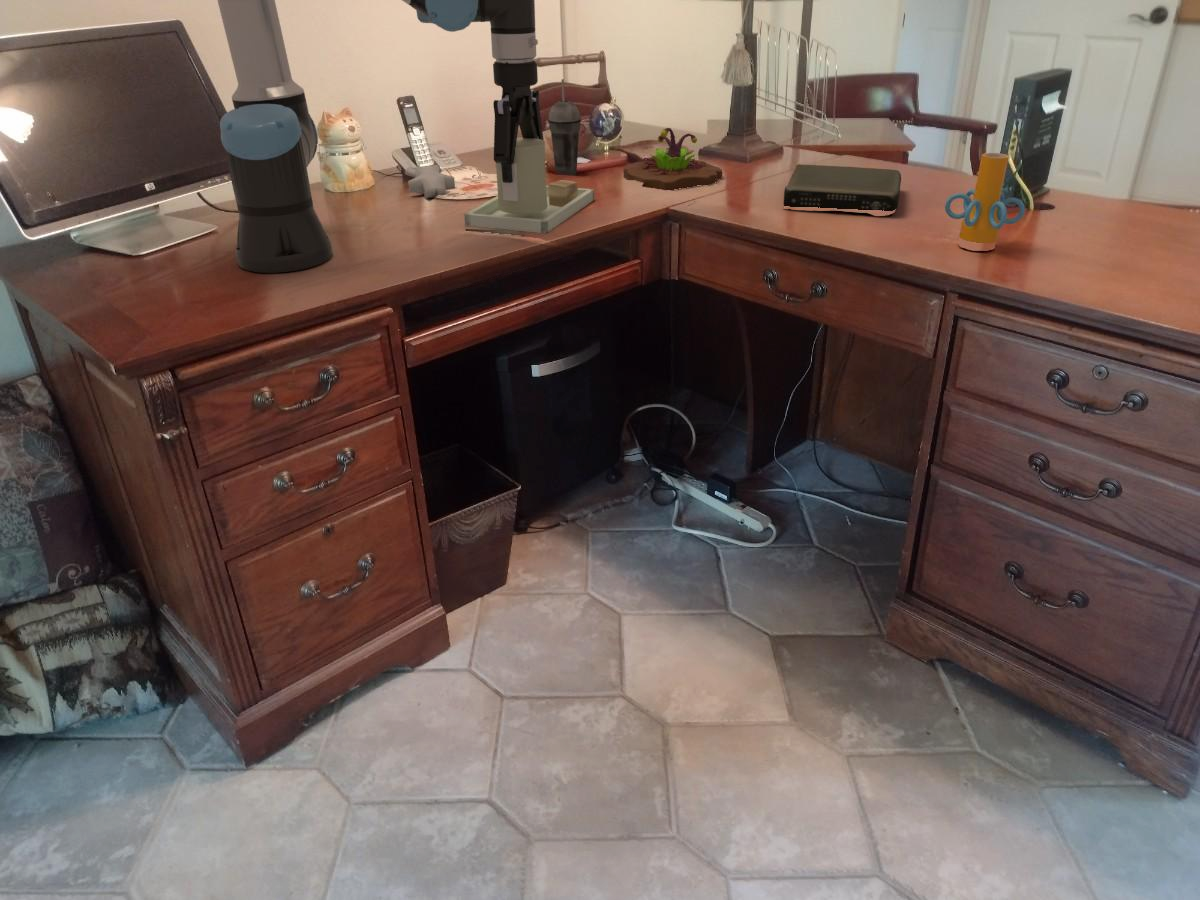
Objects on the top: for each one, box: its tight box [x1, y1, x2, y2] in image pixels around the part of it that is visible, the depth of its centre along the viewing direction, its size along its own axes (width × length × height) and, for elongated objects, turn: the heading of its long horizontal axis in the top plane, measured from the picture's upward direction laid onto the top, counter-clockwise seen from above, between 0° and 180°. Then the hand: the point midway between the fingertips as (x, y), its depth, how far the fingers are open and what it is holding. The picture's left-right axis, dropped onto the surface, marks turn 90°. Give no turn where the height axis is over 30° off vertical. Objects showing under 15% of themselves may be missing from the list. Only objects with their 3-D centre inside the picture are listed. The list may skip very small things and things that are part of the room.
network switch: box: [783, 164, 902, 211], centre depth 173 cm, size 23×23×5 cm
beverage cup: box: [547, 78, 582, 177], centre depth 191 cm, size 7×7×20 cm
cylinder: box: [944, 152, 1026, 243], centre depth 144 cm, size 12×10×15 cm
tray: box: [463, 185, 595, 237], centre depth 166 cm, size 24×16×3 cm, turn 160°
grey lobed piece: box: [404, 164, 456, 199], centre depth 183 cm, size 10×5×15 cm
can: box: [495, 136, 548, 214], centre depth 159 cm, size 9×9×12 cm
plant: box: [623, 127, 723, 191], centre depth 189 cm, size 20×20×11 cm
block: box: [547, 179, 579, 207], centre depth 170 cm, size 4×4×4 cm
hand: (522, 193), depth 161 cm, fingers closed on can, 9 cm apart
